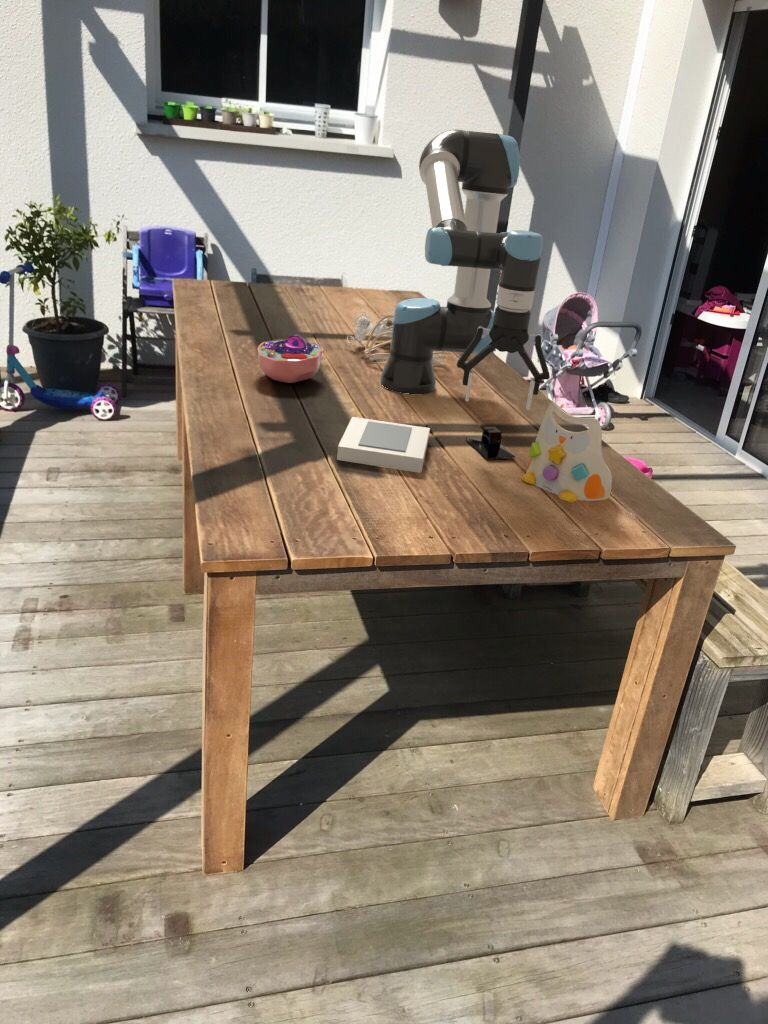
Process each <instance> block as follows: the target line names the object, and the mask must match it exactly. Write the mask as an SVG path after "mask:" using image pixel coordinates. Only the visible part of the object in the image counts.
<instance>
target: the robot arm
mask: <svg viewBox="0 0 768 1024" xmlns="http://www.w3.org/2000/svg"><path fill="white" fill-rule="evenodd" d="M519 149H520V148H519V145H518V142H517V141H516V139H515V137H513V136H511V135H507V134H502V133H499V132H498V133H493V132H492V133H491V132H483V131H473V130H463V129H458V128H456V129H449V130H445V131H443V132H441V133H440V134H437V135H436V136H434V137H433V138H432V139H431V140H430V141H428V143H427V144H426V145H425V146H424V149H423V150H422V152H421V155H420V158H419V164H418V166H419V169H418V170H419V176H420V179H421V181H422V183H423V184H424V185H425V189H426V195H427V201H428V207H429V208H428V209H429V214H430V220H431V227H430V228H429V229H428V230H427V233H426V237H425V242H424V259H425V260H426V262H427V263H429V264H433V265H440V266H442V267H446V266H447V267H457V269H456V277H455V285H454V292H453V294H452V295H451V296H449V297H448V298H447V301H446V306H441V304H440V302H439V300H437V299H434V298H427V297H415V298H408V299H404V300H401V301H399V302H398V303H397V304H396V306H395V308H394V313H393V314H394V318H393V321H392V322H393V329H392V338H391V337H390V340H391V343H390V347H389V352H390V353H389V354H390V355H389V358H388V360H386V362H385V363H386V365H385V364H384V367H383V370H382V372H381V374H380V380H379V381H380V382H379V383H381V384H380V385H381V386H382V385H383V386H384V387H383V386H382V387H383V388H385V387H386V388H388V389H387V390H389V389H390V390H389V391H391V390H393V391H392V392H394V391H396V392H395V393H398V392H401V393H400V394H403V393H409V394H408V395H411V394H422V395H427V394H431V393H433V392H434V391H435V389H436V383H437V381H436V380H437V379H436V375H435V369H434V365H433V364H434V363H433V360H432V358H433V357H434V355H433V352H435V351H444V352H445V351H446V352H448V353H460V354H461V355H460V356H459V359H458V360H457V362H456V367H457V368H458V369H462V371H463V376H462V386H466V392H465V399H464V401H465V402H469V400H470V393H471V387H472V380H473V375H474V368H475V367H476V366H477V365H479V363H480V362H481V361H483V360H484V359H485V358H486V357H487V356H489V355H490V354H491V353H492V352H494V351H495V350H498V351H499V352H501V353H504V352H508V353H510V354H514V353H517V352H518V354H519V356H520V357H521V359H522V360H523V363H524V364H525V365H526V367H527V368H528V370H529V371H530V374H531V375H532V376H533V377H531V378H530V381H529V382H530V383H529V388H528V394H527V400H526V405H525V409H526V410H528V411H530V410H531V405H532V400H533V395H534V396H537V395H538V394H539V390H540V384H541V382H542V381H544V380H547V381H548V380H550V378H551V377H550V371H549V368H548V364H547V362H546V358H545V355H544V354H545V353H544V352H543V348H542V336H541V333H539V332H537V333H536V334H530V333H528V331H529V325H530V321H531V319H530V318H531V313H532V312H531V311H530V310H531V309H532V307H533V303H534V297H535V291H536V285H537V280H538V274H539V269H540V263H541V257H542V255H543V245H544V243H543V242H544V237H543V236H542V234H540V233H538V232H535V231H531V230H523V229H521V230H519V229H515V230H511V231H509V232H508V231H505V232H504V231H503V232H500V233H498V232H497V229H498V223H499V215H500V208H501V202H502V201H503V200H504V199H505V198H506V197H507V196H508V195H509V188H510V189H511V188H514V187H515V186H516V185H517V183H518V179H519V175H520V165H521V164H520V162H521V161H520V159H521V158H520V150H519ZM459 182H460V183H462V185H461V189H460V183H459ZM461 192H462V193H463V194H464V195H465V197H466V201H465V207H464V203H463V201H462V195H461ZM464 208H465V209H464ZM492 270H493V271H501V272H500V279H499V284H498V290H497V295H496V302H495V303H496V305H497V306H496V307H495V308H494V309H495V310H492V309H491V307H492V303H491V302H490V300H489V299H488V290H489V289H488V288H489V282H490V278H491V277H490V276H491V271H492ZM528 341H530V342H531V343H530V344H531V345H533V346H534V347H535V352H536V355H537V358H538V361H539V365H540V369H541V371H542V372H539V370H538V368H537V367H536V365H535V364H534V362H533V360H532V358H531V357H530V354H528V352H527V350H526V349H525V347H524V345H525V344H527V342H528ZM472 354H476V355H475V356H474V357H473V358H471V359H470V360H469V361H468V362H467V360H468V359H469V357H470V356H471V355H472ZM386 388H385V389H386Z"/></svg>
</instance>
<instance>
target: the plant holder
mask: <svg viewBox="0 0 768 1024" xmlns="http://www.w3.org/2000/svg"><path fill="white" fill-rule="evenodd" d="M360 313H362V314H361V315H360V316H359V314H360ZM354 314H355V315H354V316H355V317H354V318H355V319H354V321H353V327H355V328H353V331H354V336H351V335H346V341H347V343H349V344H351V342H350V341H349V340H351V341H352V340H354V341H355V340H357V341H358V342H359V343H360V342H363V341H364V340H365V339H367V341H366V343H365V346H364V347H365V348H364V349H363V350H362V351H361V353H364V354H368V355H365V357H364V359H368V358H369V360H370V361H375V360H383V361H387V360H388V358H389V355H390V351H389V352H387V353H386V352H385V353H384V352H382V353H379V352H378V353H373V354H372V352H374V351H375V350H377V349H378V348H381V347H383V346H386V345H388V344H391V338H392V329H393V318H394V313H393V314H390V315H386V316H383V317H381V318H379V319H377V321H376V323H375V324H374V323H373V321H371V317H370V315H369V314H368V312H367V311H366V310H364V309H362V311H359V312H355V313H354ZM357 325H358V326H357ZM367 334H368V335H367ZM373 335H374V338H373V340H372V337H373ZM385 335H386V336H387V337H388V338H390V339H389V340H387V341H384V342H380V343H377V344H375V342H376V341H377V340H378V339H379V338H380V337H382V336H383V337H384V336H385ZM371 340H372V341H371ZM370 341H371V343H370ZM374 344H375V345H374ZM449 354H451V352H446V351H434V352H433V358H432V363H433V368H434V367H435V366H440V367H445V366H446V360H445V361H444V362H443V364H442V362H440V361H441V360H444V359H446V356H445V355H449ZM386 363H387V362H385V363H383V365H384V366H385V365H386ZM374 364H376V365H382V363H381V362H373V365H374Z"/></svg>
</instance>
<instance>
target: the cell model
mask: <svg viewBox="0 0 768 1024" xmlns="http://www.w3.org/2000/svg"><path fill="white" fill-rule="evenodd" d="M305 339H306V338H304V337H303V336H302V335H299V334H292V335H290V336H288V337H287V339H285V338H283V339H282V338H279V339H273V340H267V341H263V342H261V343H260V344H259V345H258V347H257V357H258V366H259V369H260V370H261V372H263V373H264V374H265V376H267V377H269V378H270V379H271V380H273V381H276V382H282V383H285V384H286V383H287V384H295V383H297V382H298V383H299V382H302V381H305V380H309V379H311V378H312V377H314V375H315V374H316V373H318V371H319V369H320V365H321V361H322V357H323V352H324V348H323V346H321V345H319V344H317V343H314V342H308V341H306V340H305Z"/></svg>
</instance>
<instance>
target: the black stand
mask: <svg viewBox="0 0 768 1024" xmlns="http://www.w3.org/2000/svg"><path fill="white" fill-rule="evenodd" d="M502 433H503V432H502V431H501V430H499V429H498V428H497V427H496V426H484V427H483V430H482V433H481V434H482V435H481V437H466V438H465V440H466V441H467V442H468V443H469V444H470V445H472V447H474V448H475V449H476V450H477V451H478V452H479V453H480V454H481V455H482V456H483V457H485V459H486V460H487V459H488V460H494V459H514V458H516V455H515V454H514V453H513V452H511V451H510V450H509V449H507V447H505V446H504V445H503V444H502Z"/></svg>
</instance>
